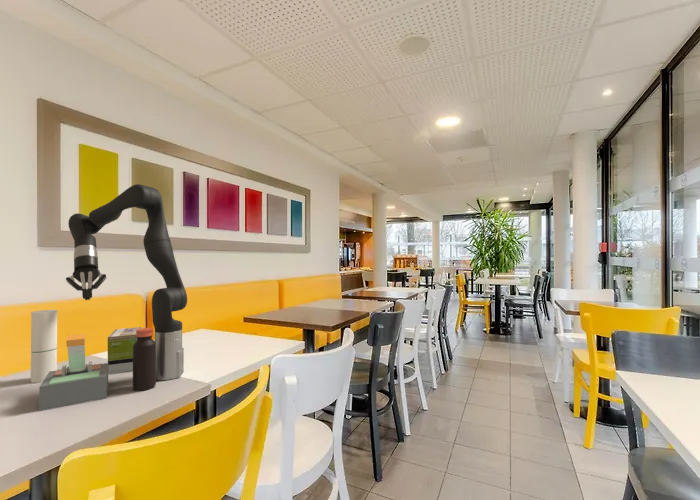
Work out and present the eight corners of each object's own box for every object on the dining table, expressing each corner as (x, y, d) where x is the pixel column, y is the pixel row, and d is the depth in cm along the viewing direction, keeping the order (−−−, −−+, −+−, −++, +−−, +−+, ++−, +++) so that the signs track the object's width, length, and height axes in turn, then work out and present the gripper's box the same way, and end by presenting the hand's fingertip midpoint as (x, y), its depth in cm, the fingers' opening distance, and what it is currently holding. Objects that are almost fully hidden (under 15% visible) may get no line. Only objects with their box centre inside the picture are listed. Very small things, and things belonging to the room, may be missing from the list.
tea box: (114, 363, 144) (115, 328, 144) (142, 360, 148) (142, 326, 148) (106, 374, 130) (107, 336, 130) (137, 371, 134) (137, 333, 134)
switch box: (108, 382, 122) (108, 354, 122) (106, 398, 109) (106, 366, 109) (49, 392, 113) (49, 362, 113) (39, 410, 100) (39, 376, 100)
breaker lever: (87, 368, 114) (86, 333, 109) (86, 373, 112) (85, 338, 107) (68, 370, 111) (66, 335, 107) (67, 376, 109) (65, 340, 105)
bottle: (157, 387, 117) (158, 329, 117) (135, 393, 112) (135, 332, 113) (152, 382, 122) (153, 326, 122) (130, 387, 117) (131, 329, 118)
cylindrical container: (54, 374, 131) (55, 309, 131) (58, 378, 126) (59, 310, 126) (28, 379, 125) (29, 311, 125) (32, 384, 121) (33, 313, 121)
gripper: (62, 255, 129) (63, 297, 122) (105, 253, 136) (108, 292, 130) (65, 264, 134) (66, 305, 128) (106, 261, 142) (109, 300, 135)
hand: (87, 299), depth 129 cm, fingers closed
